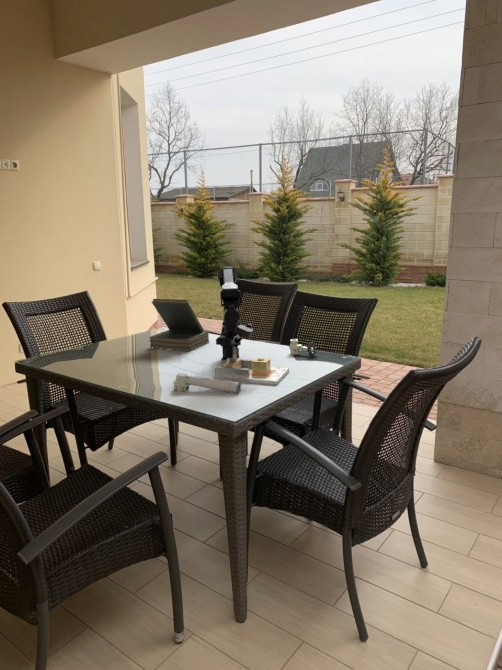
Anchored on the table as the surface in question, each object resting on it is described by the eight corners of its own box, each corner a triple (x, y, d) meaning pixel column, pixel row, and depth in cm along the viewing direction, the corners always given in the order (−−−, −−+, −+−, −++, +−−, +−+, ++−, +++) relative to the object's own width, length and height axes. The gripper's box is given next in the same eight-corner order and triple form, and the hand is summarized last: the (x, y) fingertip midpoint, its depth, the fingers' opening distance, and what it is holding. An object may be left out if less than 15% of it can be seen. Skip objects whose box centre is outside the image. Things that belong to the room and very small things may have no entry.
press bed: (212, 379, 190) (212, 368, 189) (229, 367, 207) (229, 356, 206) (276, 385, 182) (276, 373, 181) (289, 371, 198) (289, 360, 197)
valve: (286, 354, 224) (309, 358, 217) (286, 340, 223) (309, 343, 216) (293, 351, 229) (316, 354, 222) (293, 338, 228) (316, 340, 221)
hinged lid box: (209, 343, 252) (206, 295, 247) (189, 352, 235) (186, 301, 229) (171, 340, 261) (168, 293, 256) (150, 349, 244) (146, 299, 238)
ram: (223, 373, 192) (222, 349, 190) (233, 366, 202) (232, 343, 200) (233, 373, 191) (232, 350, 189) (242, 366, 200) (241, 344, 198)
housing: (252, 373, 191) (251, 360, 190) (256, 369, 196) (255, 357, 195) (266, 374, 189) (266, 361, 188) (270, 370, 194) (270, 358, 193)
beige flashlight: (238, 384, 172) (171, 372, 177) (236, 402, 173) (170, 390, 178) (241, 380, 177) (177, 368, 182) (240, 397, 178) (176, 385, 183)
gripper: (242, 324, 181) (243, 364, 184) (258, 315, 198) (259, 352, 201) (214, 323, 184) (216, 363, 188) (232, 314, 201) (233, 351, 205)
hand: (232, 357), depth 195 cm, fingers closed on ram, 3 cm apart
